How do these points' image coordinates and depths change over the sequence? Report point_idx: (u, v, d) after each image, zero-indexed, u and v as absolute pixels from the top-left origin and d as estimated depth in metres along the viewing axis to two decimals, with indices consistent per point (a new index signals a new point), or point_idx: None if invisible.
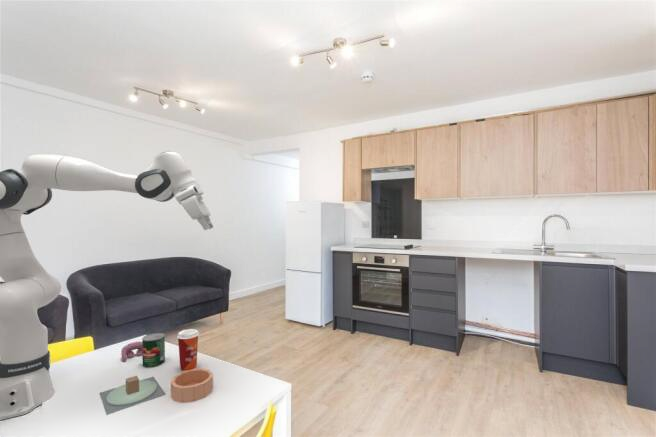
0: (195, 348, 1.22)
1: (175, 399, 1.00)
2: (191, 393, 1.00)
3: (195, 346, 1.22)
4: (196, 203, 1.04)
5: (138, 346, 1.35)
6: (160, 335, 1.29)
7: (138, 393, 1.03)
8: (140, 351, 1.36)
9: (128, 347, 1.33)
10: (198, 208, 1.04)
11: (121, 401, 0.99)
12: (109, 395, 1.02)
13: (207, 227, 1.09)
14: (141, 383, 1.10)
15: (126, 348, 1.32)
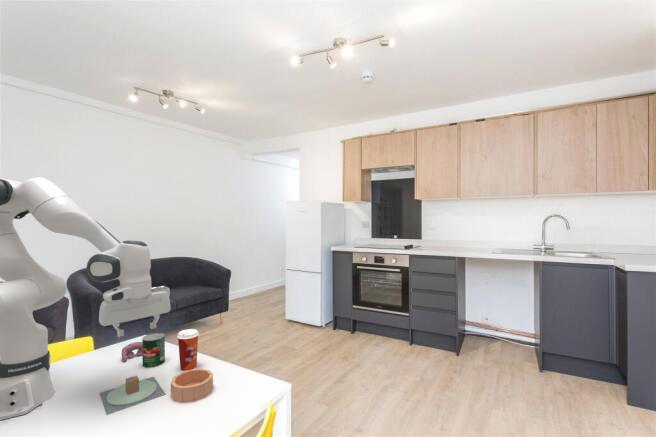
0: (195, 348, 1.22)
1: (175, 399, 1.00)
2: (191, 393, 1.00)
3: (195, 346, 1.22)
4: (102, 313, 0.97)
5: (138, 346, 1.35)
6: (160, 335, 1.29)
7: (138, 393, 1.03)
8: (140, 351, 1.35)
9: (128, 347, 1.32)
10: (101, 319, 0.97)
11: (121, 401, 0.99)
12: (109, 395, 1.02)
13: (118, 335, 1.01)
14: (141, 383, 1.10)
15: (126, 348, 1.32)
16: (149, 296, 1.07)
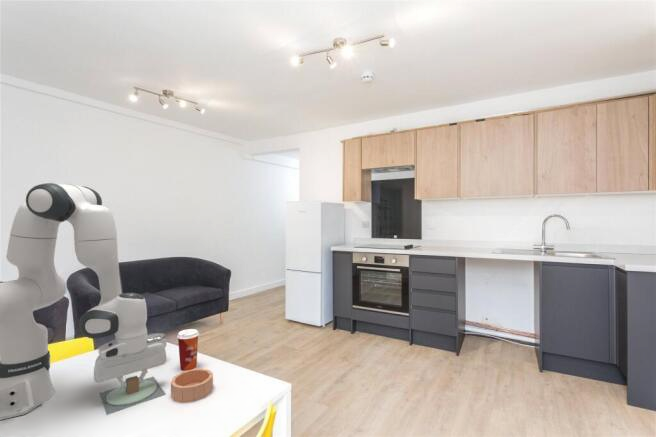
0: (195, 348, 1.22)
1: (175, 399, 1.00)
2: (191, 393, 1.00)
3: (195, 346, 1.22)
4: (96, 370, 0.97)
5: None
6: (160, 335, 1.29)
7: (138, 393, 1.03)
8: None
9: None
10: (95, 375, 0.97)
11: (121, 401, 0.99)
12: (109, 395, 1.02)
13: (121, 387, 1.03)
14: None
15: None
16: (144, 349, 1.06)
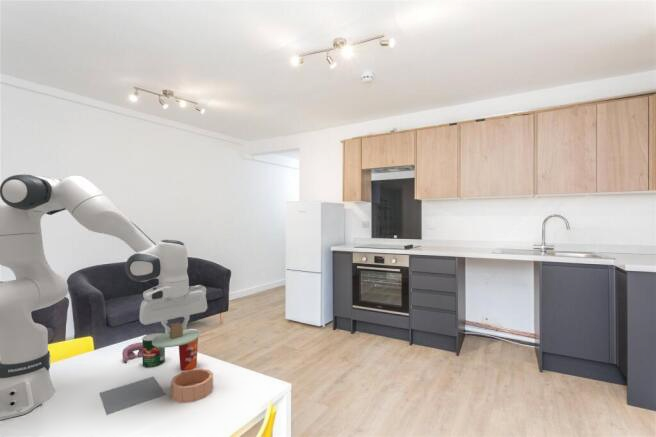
0: (195, 348, 1.22)
1: (175, 399, 1.00)
2: (191, 393, 1.00)
3: (195, 346, 1.22)
4: (142, 312, 0.98)
5: (139, 347, 1.34)
6: None
7: (182, 337, 1.04)
8: (141, 352, 1.35)
9: (129, 348, 1.32)
10: (142, 317, 0.98)
11: (168, 343, 1.00)
12: (154, 340, 1.03)
13: (166, 332, 1.03)
14: (183, 331, 1.10)
15: (127, 349, 1.31)
16: (187, 295, 1.07)
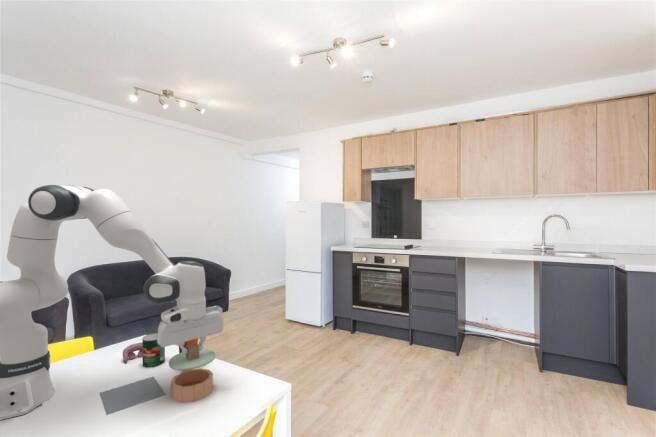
0: None
1: (175, 399, 1.00)
2: (191, 393, 1.00)
3: None
4: (161, 334, 0.98)
5: (139, 347, 1.34)
6: None
7: (199, 359, 1.04)
8: (141, 352, 1.34)
9: (129, 348, 1.31)
10: (160, 340, 0.98)
11: (185, 365, 1.00)
12: (171, 361, 1.03)
13: (183, 353, 1.03)
14: (198, 351, 1.10)
15: (127, 349, 1.31)
16: (204, 316, 1.07)
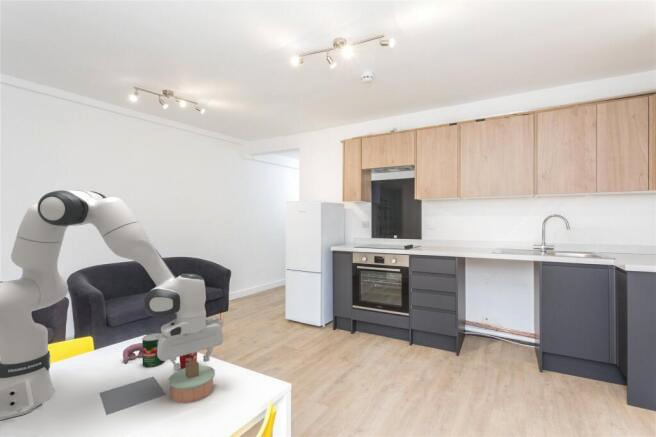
0: None
1: (175, 399, 1.00)
2: (191, 393, 1.00)
3: None
4: (161, 348, 0.98)
5: (140, 348, 1.33)
6: (160, 335, 1.29)
7: (199, 377, 1.04)
8: None
9: (130, 349, 1.31)
10: (160, 354, 0.98)
11: (185, 384, 1.00)
12: (170, 379, 1.03)
13: (174, 369, 1.02)
14: (198, 368, 1.11)
15: (128, 350, 1.30)
16: (204, 329, 1.07)
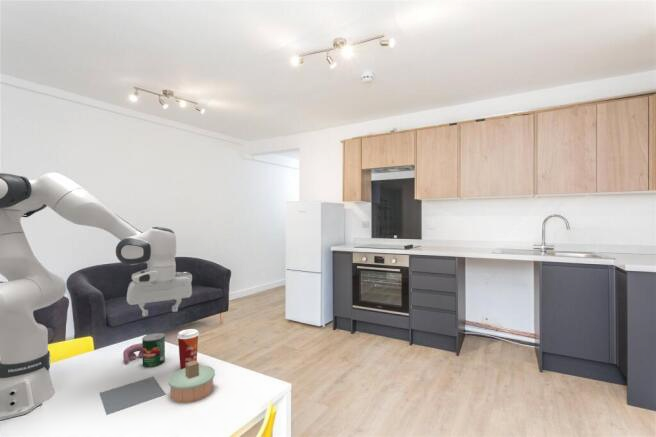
0: (195, 348, 1.22)
1: (175, 399, 1.00)
2: (191, 393, 1.00)
3: (195, 346, 1.22)
4: (129, 292, 1.04)
5: (140, 348, 1.33)
6: (160, 335, 1.29)
7: (199, 377, 1.04)
8: None
9: (130, 349, 1.31)
10: (128, 298, 1.04)
11: (185, 384, 1.00)
12: (170, 379, 1.03)
13: (143, 314, 1.08)
14: (198, 368, 1.11)
15: (128, 350, 1.30)
16: (173, 280, 1.13)
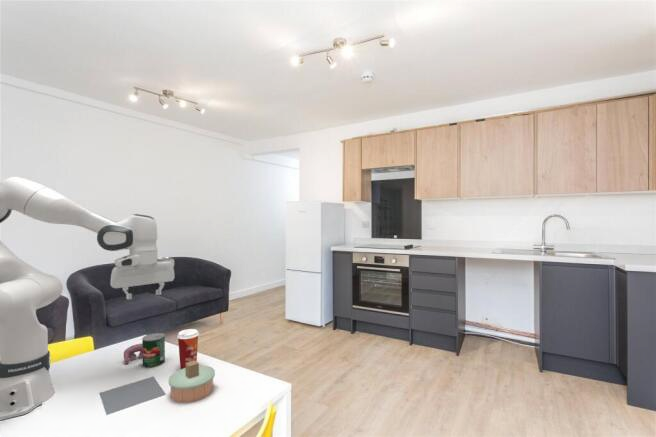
0: (195, 348, 1.22)
1: (175, 399, 1.00)
2: (191, 393, 1.00)
3: (195, 346, 1.22)
4: (113, 276, 1.09)
5: (140, 348, 1.33)
6: (160, 335, 1.29)
7: (199, 377, 1.04)
8: None
9: (130, 349, 1.30)
10: (112, 281, 1.09)
11: (185, 384, 1.00)
12: (170, 379, 1.03)
13: (127, 298, 1.13)
14: (198, 368, 1.11)
15: (128, 350, 1.30)
16: (155, 265, 1.18)
